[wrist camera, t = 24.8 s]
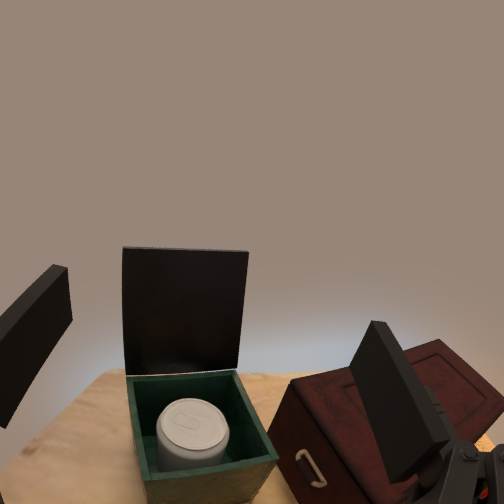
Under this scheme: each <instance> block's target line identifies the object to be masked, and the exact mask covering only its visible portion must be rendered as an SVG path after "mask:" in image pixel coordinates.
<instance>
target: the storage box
mask: <svg viewBox="0 0 504 504" xmlns="http://www.w3.org/2000/svg"><path fill="white" fill-rule="evenodd" d="M404 353H405V355H406V357H407V358H408V360H409V362H410V363H411V365H412V367H413V369H414V370H415V372H416V374H417V376H418V378H419V379H420V381H421V383H422V385H423V386H428V387H429V388H430V389H431V390H432V391H433V392H434V393H435V394H436V396H437V398H438V399H439V401H440V403H441V406H442V407H443V408H444V410H445V413H446V414H447V416H448V418H449V419H450V421H451V423H452V425H453V427H454V429H455V431H456V433H457V435H458V437H459V439H460V440H461V441H468V442H470V443H472V444H473V445H474V444H475V443H476V442H477V441H478V440H479V439H480V438H481V437H482V435H483V434H484V433H485V432H486V431H487V430H488V429H489V428H490V427H491V425H492V424H493V423H494V422H495V421H496V420H497V419H498V417H499V416H500V415H501V414H502V413H503V412H504V397H503V396H502V395H501V394H500V393H499V392H498V391H497V390H496V389H495V388H494V387H493V386H491V385H490V384H489V383H488V382H487V381H486V380H485V379H484V378H483V377H482V376H481V375H479V374H478V373H477V372H476V371H475V370H474V369H473V368H472V367H471V366H469V365H468V364H467V363H466V362H465V361H464V360H463V359H462V358H460V357H459V356H458V355H457V354H456V353H455V352H454V351H453V350H451V349H450V348H449V347H448V346H447V345H446V344H445V343H443V342H442V341H441V340H440V339H436V340H434V341H431V342H428V343H425V344H422V345H419V346H416V347H413V348H410V349H407V350H404ZM267 435H268V437H269V439H270V441H271V443H272V445H273V446H274V448H275V450H276V452H277V454H278V456H279V460H278V462H277V464H278V466H279V468H280V470H281V472H282V474H283V475H284V477H285V479H286V481H287V483H288V484H289V486H290V488H291V490H292V492H293V493H294V495H295V497H296V499H297V500H298V502H299V504H402V503H404V502H405V501H407V498H408V495H409V494H410V491H411V490H410V491H408V492H407V493H406V494H405V495H404V494H402V493H403V492H404V490H405V489H407V488H408V487H409V486H410V485H412V484H413V483H414V482H415V481H416V480H418V477H417V474H414V475H413V476H412V477H411V478H410V479H409V480H408V481H405V482H401V483H396V484H391V485H390V483H389V479H388V476H387V473H386V470H385V467H384V464H383V461H382V458H381V455H380V452H379V449H378V446H377V443H376V440H375V437H374V434H373V431H372V428H371V426H370V423H369V420H368V417H367V414H366V411H365V409H364V406H363V403H362V400H361V397H360V395H359V392H358V389H357V387H356V384H355V381H354V378H353V376H352V373H351V370H350V368H349V366H348V367H344V368H340V369H336V370H332V371H328V372H324V373H319V374H315V375H310V376H306V377H301V378H296V379H292V380H291V381H290V384H288V387H287V389H286V391H285V394H284V396H283V398H282V401H281V403H280V405H279V407H278V410H277V412H276V414H275V416H274V419H273V421H272V423H271V425H270V427H269V429H268V432H267Z"/></svg>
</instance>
